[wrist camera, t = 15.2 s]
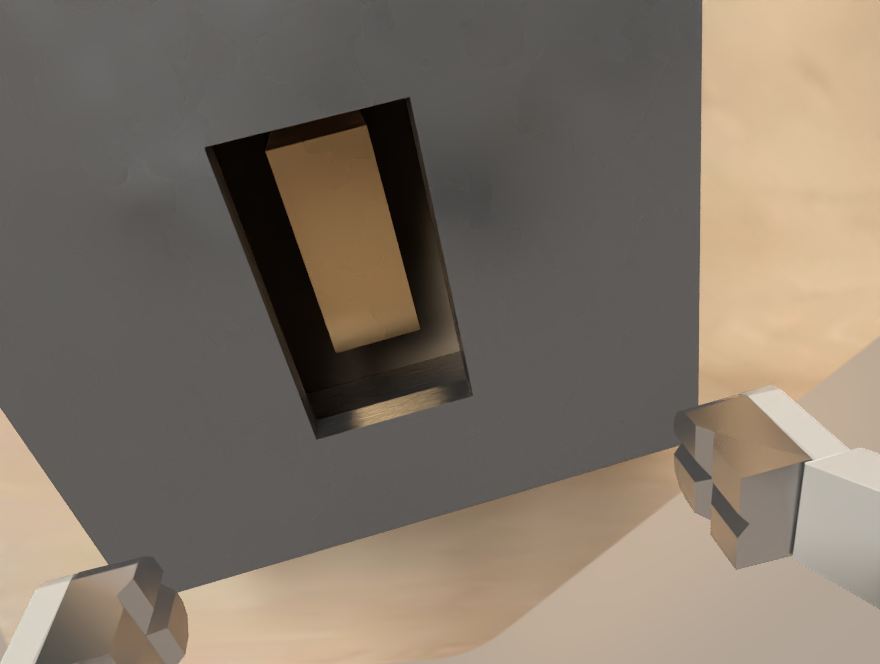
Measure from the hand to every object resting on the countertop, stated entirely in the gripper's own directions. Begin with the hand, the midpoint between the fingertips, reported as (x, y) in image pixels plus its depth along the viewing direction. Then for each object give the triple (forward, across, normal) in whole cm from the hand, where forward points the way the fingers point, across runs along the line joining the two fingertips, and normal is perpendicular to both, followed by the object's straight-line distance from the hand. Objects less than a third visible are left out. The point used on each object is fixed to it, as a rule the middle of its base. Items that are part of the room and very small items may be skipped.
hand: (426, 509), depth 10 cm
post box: (+17, +1, 0) cm, 17 cm away
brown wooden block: (+17, +1, 0) cm, 17 cm away
